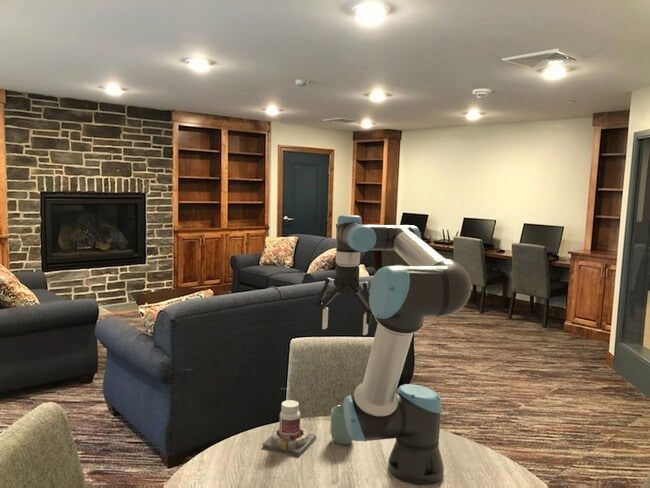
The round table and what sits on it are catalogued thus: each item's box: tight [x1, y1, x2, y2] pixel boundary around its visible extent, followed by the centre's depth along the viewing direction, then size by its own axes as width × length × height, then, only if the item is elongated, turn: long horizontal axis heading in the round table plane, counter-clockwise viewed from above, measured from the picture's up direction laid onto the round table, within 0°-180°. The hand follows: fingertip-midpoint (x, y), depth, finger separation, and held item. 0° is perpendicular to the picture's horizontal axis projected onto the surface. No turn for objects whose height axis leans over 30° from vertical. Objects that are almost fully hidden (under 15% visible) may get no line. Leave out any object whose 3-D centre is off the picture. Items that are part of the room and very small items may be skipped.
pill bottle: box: [278, 399, 301, 439], centre depth 162 cm, size 6×6×11 cm
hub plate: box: [262, 426, 317, 457], centre depth 162 cm, size 12×12×3 cm
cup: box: [330, 404, 354, 446], centre depth 164 cm, size 8×8×10 cm
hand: (344, 331), depth 171 cm, fingers open, 13 cm apart
